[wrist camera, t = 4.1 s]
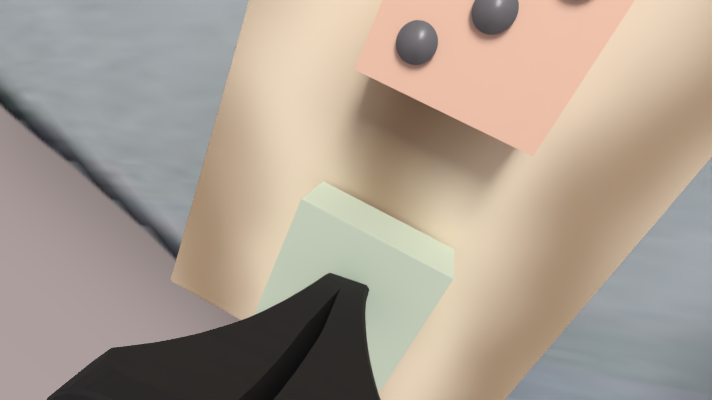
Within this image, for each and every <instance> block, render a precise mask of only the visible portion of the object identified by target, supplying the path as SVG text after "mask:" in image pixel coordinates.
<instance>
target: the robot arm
mask: <svg viewBox="0 0 712 400" xmlns="http://www.w3.org/2000/svg"><path fill="white" fill-rule="evenodd" d="M368 293H369V288H368V286H367V285H365V284H362V283H359V282H356V281H353V280H350V279H347V278H345V277H342V276H339V275H336V274H333V273H328V274H326V275H324V276H323V277H321V278H320V279H318V280H317V281H315V282H314V283H312V284H311V285H309V286H308V287H306V288H304V289H303V290H301V291H299V292H298V293H296V294H294V295H293V296H291V297H289V298H287V299H286V300H284V301H282V302H280V303H278V304H276V305H274V306H272V307H270V308H268V309H266V310H264V311H262V312H260V313H258V314H255V315H253V316H251V317H248V318H246V319H243V320H241V321H238V322H235V323H232V324H229V325H226V326H223V327H219V328H216V329H213V330H209V331H206V332H203V333H199V334H195V335H190V336H186V337H181V338H176V339H171V340H166V341H161V342H155V343H148V344H140V345H132V346H125V347H116V348H111V349H109V350H108V351H107V352H105V353H104V354H102V355H101V356H99V357H98V358H97V359H95V360H94V361H93V362H91V363H90V364H89V365H88V366H86V367H85V368H84V369H83V370H81V372H79V373H78V374H77V375H75V376H74V377H73V378H72V379H70V380H69V381H68V382H67V383H65V384H64V385H63V386H62V387H60V388H59V389H58V390H57V391H55V392H54V393H53V394H52V395H51V396H49V397H48V398H47V400H381V399H380V397H379V394H378V390H377V387H376V383H375V379H374V376H373V371H372V367H371V362H370V357H369V351H368V344H367V335H366V319H365V310H366V300H367V296H368Z"/></svg>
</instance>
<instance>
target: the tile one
mask: <svg viewBox="0 0 712 400" xmlns="http://www.w3.org/2000/svg"><path fill="white" fill-rule="evenodd" d="M454 254H455V249H453V248H451V247H449V246H447V245H445V244H443V243H441V242H439V241H438V240H436V239H434V238H432V237H430V236H428V235H426V234H424V233H422V232H420V231H418V230H416V229H414V228H413V227H411V226H409V225H407V224H405V223H403V222H401V221H399V220H397V219H395V218H393V217H391V216H389V215H387V214H386V213H384V212H382V211H380V210H378V209H376V208H374V207H372V206H370V205H368V204H366V203H364V202H362V201H361V200H359V199H357V198H355V197H353V196H351V195H349V194H347V193H345V192H343V191H341V190H339V189H337V188H335V187H334V186H332V185H330V184H328V183H326V182H324V181H323V182H322V183H321V184H319V185H318V186H317V187H316V188H314V189H313V190H312V191H311V192H309V193H308V194H307V195H306V196H304V197H303V198H302V199H301V201H300V204H299V206H298V208H297V211H296V213H295V216H294V218H293V221H292V223H291V226H290V228H289V230H288V233H287V235H286V238H285V240H284V243H283V245H282V248H281V250H280V253H279V255H278V257H277V260H276V262H275V265H274V267H273V270H272V272H271V275H270V277H269V279H268V282H267V284H266V287H265V289H264V292H263V294H262V297H261V299H260V301H259V304H258V306H257V309H256V311H255V314H258V313H260V312H262V311H264V310H266V309H268V308H270V307H272V306H274V305H276V304H278V303H280V302H282V301H284V300H286V299H287V298H289V297H291V296H293V295H294V294H296V293H298V292H299V291H301V290H303V289H304V288H306V287H308V286H309V285H311V284H312V283H314V282H315V281H317V280H318V279H320V278H321V277H323V276H324V275H326V274H328V273H333V274H336V275H339V276H342V277H345V278H347V279H350V280H353V281H356V282H359V283H362V284H365V285H367V286H368V288H369V293H368V296H367V300H366V310H365V319H366V335H367V344H368V351H369V357H370V362H371V367H372V371H373V376H374V379H375V383H376V387H377V390H379V391H381V390H382V388H383V386H384V385H385V383H386V382H387V380H388V379H389V377H390V376H391V374H392V373H393V371H394V370H395V368H396V367H397V365H398V363H399V362H400V360H401V359H402V357H403V356H404V354H405V353H406V351H407V350H408V348H409V347H410V345H411V343H412V342H413V340H414V339H415V337H416V336H417V334H418V333H419V331H420V330H421V328H422V327H423V325H424V323H425V322H426V320H427V319H428V317H429V316H430V314H431V313H432V311H433V310H434V308H435V307H436V305H437V304H438V302H439V300H440V299H441V297H442V296H443V294H444V293H445V291H446V290H447V288H448V287H449V285H450V284H451V282H452V280H453V279H454ZM255 314H254V315H255Z"/></svg>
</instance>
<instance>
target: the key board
mask: <svg viewBox="0 0 712 400" xmlns="http://www.w3.org/2000/svg"><path fill="white" fill-rule="evenodd" d="M381 3H382V0H249V3H248V7H247V10H246V14H245V17H244V21H243V25H242V28H241V32H240V35H239V39H238V42H237V46H236V49H235V53H234V57H233V60H232V64H231V67H230V71H229V74H228V78H227V82H226V85H225V89H224V92H223V96H222V99H221V103H220V107H219V110H218V114H217V117H216V121H215V124H214V128H213V131H212V135H211V139H210V142H209V146H208V149H207V153H206V156H205V160H204V164H203V167H202V171H201V174H200V178H199V181H198V185H197V189H196V192H195V196H194V199H193V203H192V206H191V210H190V213H189V217H188V221H187V224H186V228H185V231H184V235H183V238H182V242H181V246H180V249H179V253H178V256H177V260H176V263H175V267H174V271H173V274H172V278H171V281H172V282H174V283H176V284H178V285H180V286H181V287H183V288H185V289H187V290H188V291H190V292H192V293H194V294H195V295H197V296H199V297H201V298H202V299H204V300H206V301H208V302H210V303H211V304H213V305H215V306H217V307H218V308H220V309H222V310H223V311H225V312H227V313H229V314H231V315H232V316H234V317H236V318H238V319H239V320H243V319H246V318H248V317H251V316H253V315H254V314H255V311H256V309H257V306H258V304H259V301H260V299H261V297H262V294H263V292H264V289H265V287H266V284H267V282H268V279H269V277H270V275H271V272H272V270H273V267H274V265H275V262H276V260H277V257H278V255H279V253H280V250H281V248H282V245H283V243H284V240H285V238H286V235H287V233H288V230H289V228H290V226H291V223H292V221H293V218H294V216H295V213H296V211H297V208H298V206H299V204H300V201H301V199H302V198H303V197H304V196H306V195H307V194H308V193H309V192H311V191H312V190H313V189H314V188H316V187H317V186H318V185H319V184H321V183H322V182H323V181H324V182H326V183H328V184H330V185H332V186H334V187H335V188H337V189H339V190H341V191H343V192H345V193H347V194H349V195H351V196H353V197H355V198H357V199H359V200H361V201H362V202H364V203H366V204H368V205H370V206H372V207H374V208H376V209H378V210H380V211H382V212H384V213H386V214H387V215H389V216H391V217H393V218H395V219H397V220H399V221H401V222H403V223H405V224H407V225H409V226H411V227H413V228H414V229H416V230H418V231H420V232H422V233H424V234H426V235H428V236H430V237H432V238H434V239H436V240H438V241H439V242H441V243H443V244H445V245H447V246H449V247H451V248H453V249H455V254H454V279H453V280H452V282H451V284H450V285H449V287H448V288H447V290H446V291H445V293H444V294H443V296H442V297H441V299H440V300H439V302H438V304H437V305H436V307H435V308H434V310H433V311H432V313H431V314H430V316H429V317H428V319H427V320H426V322H425V323H424V325H423V327H422V328H421V330H420V331H419V333H418V334H417V336H416V337H415V339H414V340H413V342H412V343H411V345H410V347H409V348H408V350H407V351H406V353H405V354H404V356H403V357H402V359H401V360H400V362H399V363H398V365H397V367H396V368H395V370H394V371H393V373H392V374H391V376H390V377H389V379H388V380H387V382H386V383H385V385H384V386H383V388H382V390H381V391H379V390H378V394H379V397H380V399H381V400H505V399H506V397H507V396H508V395H509V394H510V393H511V392H512V390H513V389H514V388H515V387H516V386H517V384H518V383H519V382H520V381H521V380H522V379H523V377H524V376H525V375H526V374H527V373H528V372H529V370H530V369H531V368H532V367H533V366H534V365H535V363H536V362H537V361H538V360H539V359H540V358H541V356H542V355H543V354H544V353H545V352H546V350H547V349H548V348H549V347H550V346H551V345H552V343H553V342H554V341H555V340H556V339H557V338H558V336H559V335H560V334H561V333H562V332H563V331H564V329H565V328H566V327H567V326H568V325H569V324H570V322H571V321H572V320H573V319H574V318H575V316H576V315H577V314H578V313H579V312H580V311H581V309H582V308H583V307H584V306H585V305H586V304H587V302H588V301H589V300H590V299H591V298H592V297H593V295H594V294H595V293H596V292H597V291H598V290H599V288H600V287H601V286H602V285H603V284H604V282H605V281H606V280H607V279H608V278H609V277H610V275H611V274H612V273H613V272H614V271H615V270H616V268H617V267H618V266H619V265H620V264H621V263H622V261H623V260H624V259H625V258H626V257H627V255H628V254H629V253H630V252H631V251H632V250H633V248H634V247H635V246H636V245H637V244H638V243H639V241H640V240H641V239H642V238H643V237H644V236H645V234H646V233H647V232H648V231H649V230H650V229H651V227H652V226H653V225H654V224H655V223H656V221H657V220H658V219H659V218H660V217H661V216H662V214H663V213H664V212H665V211H666V210H667V209H668V207H669V206H670V205H671V204H672V203H673V202H674V200H675V199H676V198H677V197H678V196H679V195H680V193H681V192H682V191H683V190H684V189H685V187H686V186H687V185H688V184H689V183H690V182H691V180H692V179H693V178H694V177H695V176H696V175H697V173H698V172H699V171H700V170H701V169H702V168H703V166H704V165H705V164H706V163H707V162H708V161H709V159H710V158H711V157H712V0H635V1H634V2H633V4H632V5H631V7H630V8H629V10H628V12H627V13H626V15H625V16H624V18H623V19H622V21H621V22H620V24H619V25H618V27H617V28H616V30H615V31H614V33H613V35H612V36H611V38H610V39H609V41H608V42H607V44H606V45H605V47H604V48H603V50H602V51H601V53H600V55H599V56H598V58H597V59H596V61H595V62H594V64H593V65H592V67H591V68H590V70H589V71H588V73H587V75H586V76H585V78H584V79H583V81H582V82H581V84H580V85H579V87H578V88H577V90H576V91H575V93H574V94H573V96H572V98H571V99H570V101H569V102H568V104H567V105H566V107H565V108H564V110H563V111H562V113H561V114H560V116H559V118H558V119H557V121H556V122H555V124H554V125H553V127H552V128H551V130H550V131H549V133H548V134H547V136H546V138H545V139H544V141H543V142H542V144H541V145H540V147H539V148H538V150H537V151H536V153H535V154H534V156H531V155H529V154H527V153H525V152H523V151H521V150H519V149H517V148H515V147H512V146H510V145H508V144H506V143H504V142H502V141H500V140H498V139H496V138H494V137H492V136H490V135H488V134H486V133H484V132H482V131H480V130H478V129H475V128H473V127H471V126H469V125H467V124H465V123H463V122H461V121H459V120H457V119H455V118H453V117H451V116H449V115H447V114H445V113H443V112H441V111H439V110H436V109H434V108H432V107H430V106H428V105H426V104H424V103H422V102H420V101H418V100H416V99H414V98H412V97H410V96H408V95H406V94H404V93H402V92H399V91H397V90H395V89H393V88H391V87H389V86H387V85H385V84H383V83H381V82H379V81H377V80H375V79H373V78H371V77H369V76H367V75H365V74H362V73H360V72H358V71H356V70H354V69H355V67H356V64H357V62H358V59H359V57H360V54H361V52H362V49H363V47H364V44H365V42H366V40H367V37H368V35H369V32H370V30H371V27H372V25H373V22H374V20H375V18H376V15H377V13H378V10H379V8H380V5H381Z"/></svg>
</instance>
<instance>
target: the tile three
mask: <svg viewBox="0 0 712 400" xmlns="http://www.w3.org/2000/svg"><path fill="white" fill-rule="evenodd" d="M634 1H635V0H382V3H381V5H380V8H379V10H378V13H377V15H376V18H375V20H374V22H373V25H372V27H371V30H370V32H369V35H368V37H367V40H366V42H365V44H364V47H363V49H362V52H361V54H360V57H359V59H358V62H357V64H356V67H355V69H354V70H356V71H358V72H360V73H362V74H365V75H367V76H369V77H371V78H373V79H375V80H377V81H379V82H381V83H383V84H385V85H387V86H389V87H391V88H393V89H395V90H397V91H399V92H402V93H404V94H406V95H408V96H410V97H412V98H414V99H416V100H418V101H420V102H422V103H424V104H426V105H428V106H430V107H432V108H434V109H436V110H439V111H441V112H443V113H445V114H447V115H449V116H451V117H453V118H455V119H457V120H459V121H461V122H463V123H465V124H467V125H469V126H471V127H473V128H475V129H478V130H480V131H482V132H484V133H486V134H488V135H490V136H492V137H494V138H496V139H498V140H500V141H502V142H504V143H506V144H508V145H510V146H512V147H515V148H517V149H519V150H521V151H523V152H525V153H527V154H529V155H531V156H534V154H535V153H536V151H537V150H538V148H539V147H540V145H541V144H542V142H543V141H544V139H545V138H546V136H547V134H548V133H549V131H550V130H551V128H552V127H553V125H554V124H555V122H556V121H557V119H558V118H559V116H560V114H561V113H562V111H563V110H564V108H565V107H566V105H567V104H568V102H569V101H570V99H571V98H572V96H573V94H574V93H575V91H576V90H577V88H578V87H579V85H580V84H581V82H582V81H583V79H584V78H585V76H586V75H587V73H588V71H589V70H590V68H591V67H592V65H593V64H594V62H595V61H596V59H597V58H598V56H599V55H600V53H601V51H602V50H603V48H604V47H605V45H606V44H607V42H608V41H609V39H610V38H611V36H612V35H613V33H614V31H615V30H616V28H617V27H618V25H619V24H620V22H621V21H622V19H623V18H624V16H625V15H626V13H627V12H628V10H629V8H630V7H631V5H632V4H633V2H634Z"/></svg>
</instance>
